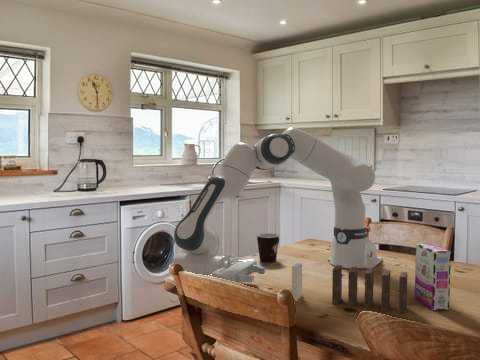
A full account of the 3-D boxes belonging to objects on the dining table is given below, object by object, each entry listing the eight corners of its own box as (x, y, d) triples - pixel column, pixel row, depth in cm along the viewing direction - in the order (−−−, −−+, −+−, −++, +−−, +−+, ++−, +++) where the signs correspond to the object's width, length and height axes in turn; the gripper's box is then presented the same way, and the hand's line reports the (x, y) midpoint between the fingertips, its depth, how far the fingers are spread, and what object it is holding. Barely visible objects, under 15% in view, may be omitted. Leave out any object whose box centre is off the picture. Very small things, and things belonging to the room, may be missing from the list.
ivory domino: (291, 300, 132) (291, 266, 132) (297, 295, 137) (297, 262, 136) (297, 301, 132) (297, 267, 131) (302, 295, 136) (302, 263, 136)
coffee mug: (264, 264, 172) (263, 238, 171) (253, 259, 180) (252, 234, 179) (289, 260, 178) (289, 235, 177) (277, 255, 185) (277, 231, 184)
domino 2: (348, 305, 128) (348, 271, 127) (351, 300, 132) (352, 266, 131) (353, 306, 127) (354, 271, 126) (357, 301, 131) (357, 267, 131)
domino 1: (332, 303, 129) (332, 269, 129) (336, 298, 134) (336, 265, 133) (337, 304, 129) (338, 270, 128) (341, 299, 133) (341, 265, 132)
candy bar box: (450, 310, 123) (452, 251, 122) (433, 311, 123) (434, 251, 122) (430, 297, 134) (431, 242, 133) (413, 297, 134) (414, 242, 133)
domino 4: (381, 310, 124) (382, 274, 123) (383, 304, 128) (384, 270, 128) (387, 311, 123) (388, 275, 122) (389, 305, 128) (390, 270, 127)
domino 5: (398, 312, 122) (399, 276, 121) (400, 306, 126) (401, 271, 126) (405, 313, 121) (405, 277, 120) (406, 307, 126) (407, 272, 125)
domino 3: (364, 308, 126) (365, 272, 125) (367, 302, 130) (367, 268, 129) (370, 309, 125) (371, 273, 124) (373, 303, 130) (373, 268, 129)
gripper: (202, 268, 135) (245, 273, 129) (232, 253, 154) (270, 257, 148) (203, 289, 136) (245, 295, 130) (232, 271, 154) (270, 276, 148)
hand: (259, 274), depth 139 cm, fingers open, 8 cm apart
